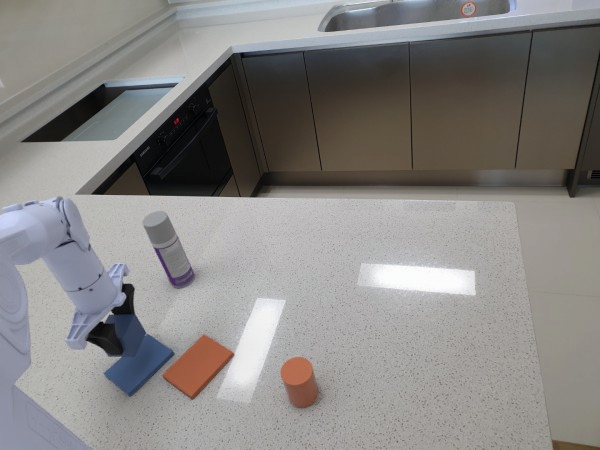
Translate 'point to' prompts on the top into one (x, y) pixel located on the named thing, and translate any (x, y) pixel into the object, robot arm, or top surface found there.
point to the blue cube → (127, 333)
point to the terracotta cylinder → (299, 381)
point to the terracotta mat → (198, 366)
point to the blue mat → (139, 365)
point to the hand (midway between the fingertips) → (123, 339)
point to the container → (168, 249)
